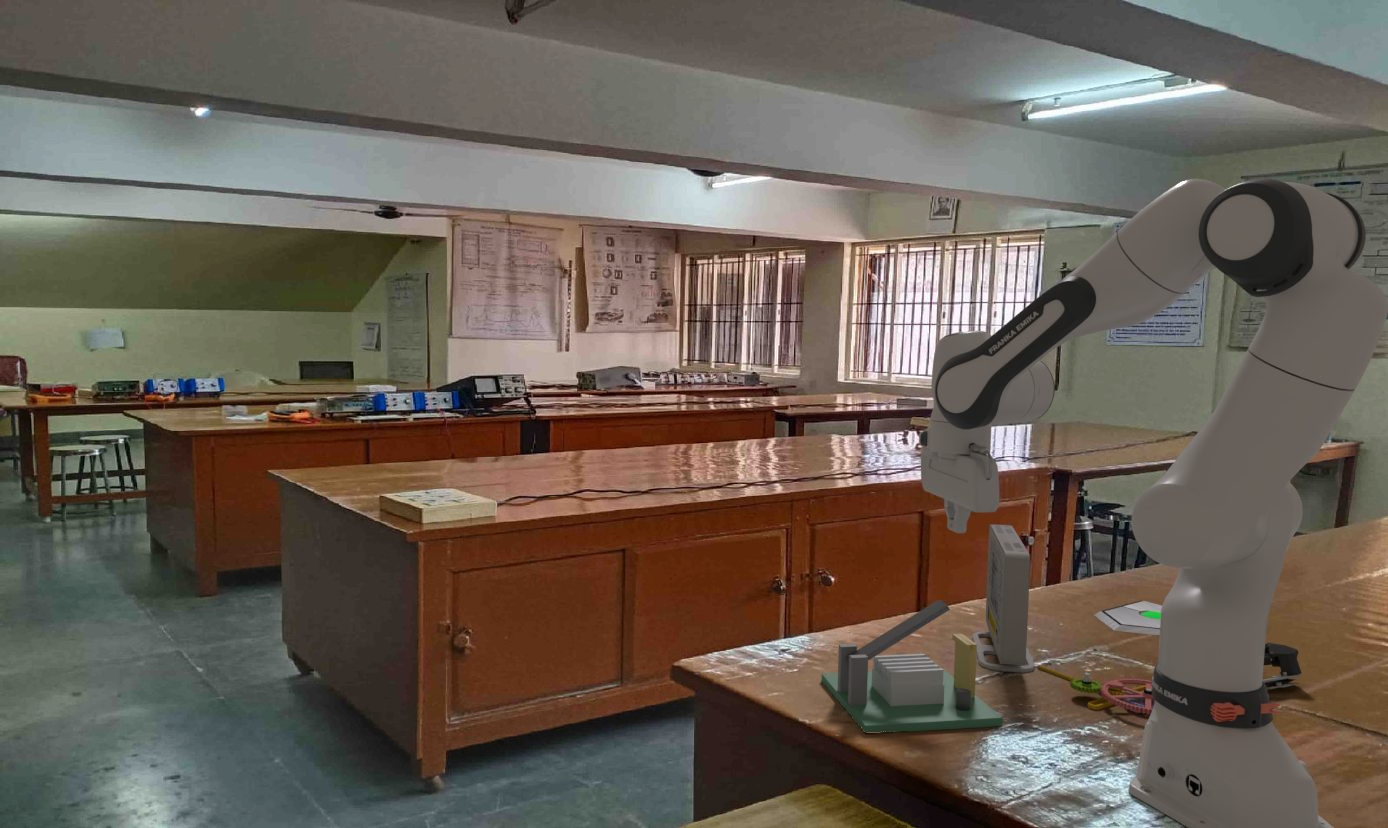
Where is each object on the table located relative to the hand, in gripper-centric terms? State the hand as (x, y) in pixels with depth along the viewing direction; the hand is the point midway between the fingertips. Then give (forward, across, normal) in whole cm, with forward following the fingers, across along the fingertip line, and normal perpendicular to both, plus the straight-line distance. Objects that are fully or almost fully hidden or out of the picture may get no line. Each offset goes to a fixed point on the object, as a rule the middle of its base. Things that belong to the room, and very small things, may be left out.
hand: (956, 531), depth 145 cm
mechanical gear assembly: (+26, -6, -25) cm, 36 cm away
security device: (+26, +30, -52) cm, 65 cm away
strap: (+15, -3, +10) cm, 18 cm away
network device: (+25, +16, -16) cm, 34 cm away
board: (+25, -3, +8) cm, 26 cm away
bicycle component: (+25, -2, -48) cm, 55 cm away
